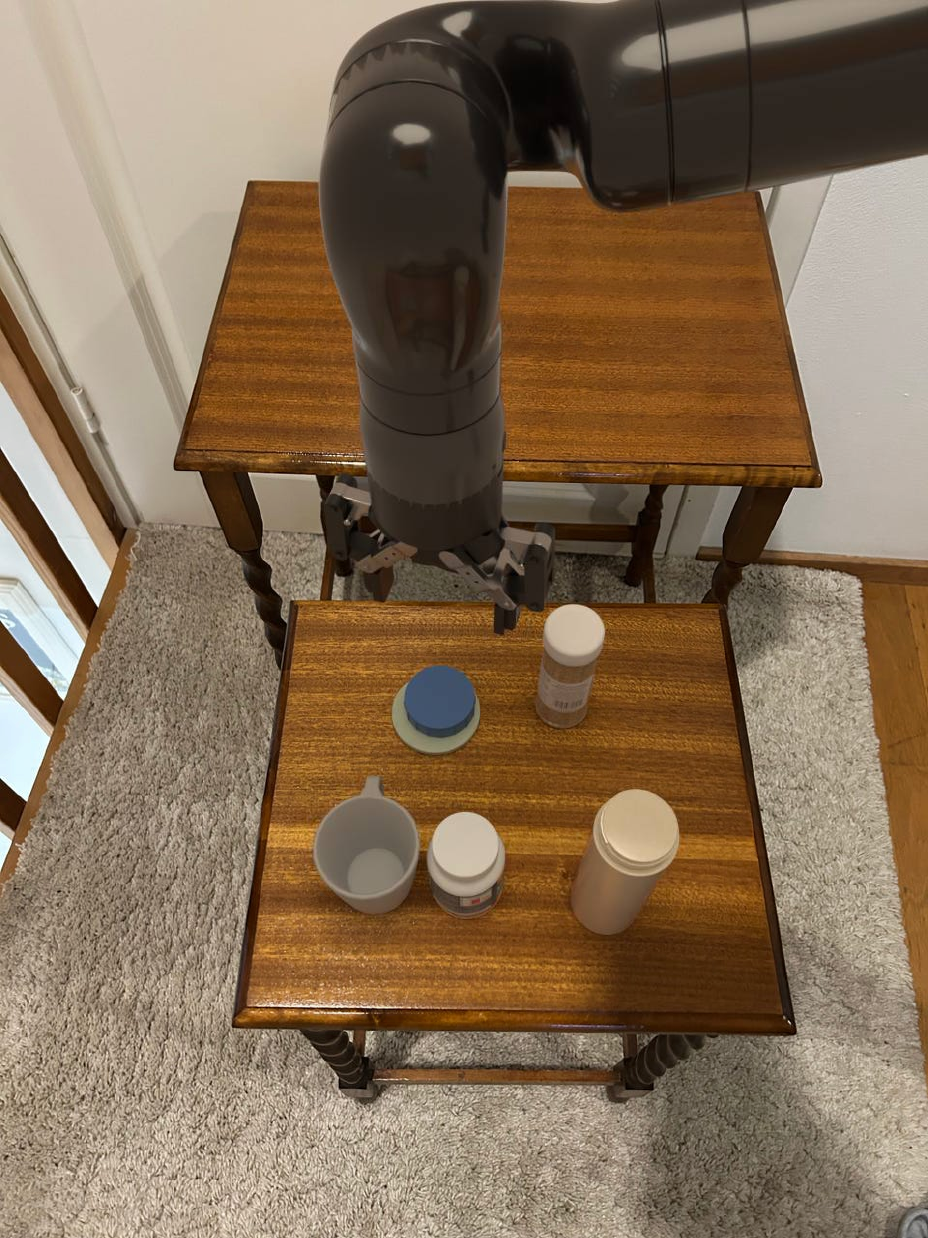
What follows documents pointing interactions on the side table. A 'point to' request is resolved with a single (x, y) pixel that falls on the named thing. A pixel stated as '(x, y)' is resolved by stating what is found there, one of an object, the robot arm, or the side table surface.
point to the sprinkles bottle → (568, 664)
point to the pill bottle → (466, 865)
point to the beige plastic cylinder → (623, 860)
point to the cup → (368, 850)
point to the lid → (439, 701)
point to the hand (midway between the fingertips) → (443, 607)
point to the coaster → (426, 743)
